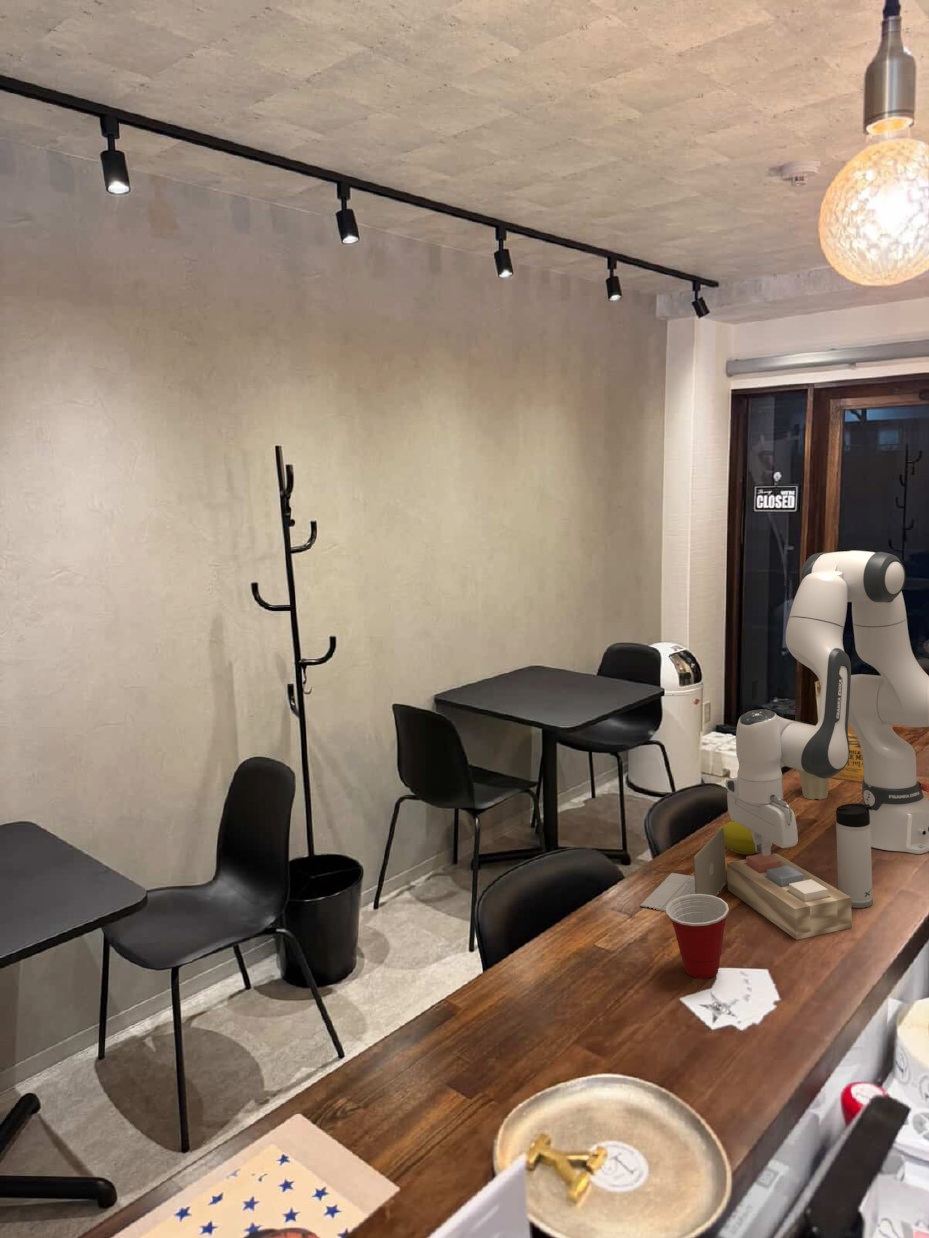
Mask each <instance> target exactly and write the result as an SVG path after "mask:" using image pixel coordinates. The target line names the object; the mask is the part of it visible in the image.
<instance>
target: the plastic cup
mask: <svg viewBox="0 0 929 1238" xmlns="http://www.w3.org/2000/svg"><path fill="white" fill-rule="evenodd" d="M729 910H730V909H729V905H728V903H727V902H726V901H725V900H723V899H722V898H721V897H717V896H716V897H715V896H713V895H705V894H691V895H685V896H681V897H678V898H676V899H674V900H672V901H671V902H670V903H669V904H668V905H667V907H666V915H667V917H669V919H670V922H671V923H672V926H673V928H674V932H675V937H676V941H677V944H678V945H677V946H678V950H679V953H680V955H681V959H682V964H683V968H684V970H685V973H687V975H688V976H691V977H693V978H698V979H710V978H713V977H715V976H716V975H717V974H718V973H719V969H720V963H721V962H720V961H721V955H722V949H723V941H724V931H725V925H726V921H727V915H728V914H729V912H730V911H729Z"/></svg>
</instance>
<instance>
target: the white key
mask: <svg viewBox="0 0 929 1238" xmlns="http://www.w3.org/2000/svg"><path fill="white" fill-rule="evenodd" d="M789 893H790V894H792V895H793V896H795V897H797V898H798V899H800V900H801V901H803V902H804V903H805V902H810V901H815V900H820V899H825V898H828V889H827V888H825V887H823V886H822V885H820V884H818V883H817V882H815V881H814V880H812V879H810V880H805V881H800V882H795V883H790V884H789Z"/></svg>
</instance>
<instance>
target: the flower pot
mask: <svg viewBox="0 0 929 1238" xmlns="http://www.w3.org/2000/svg"><path fill="white" fill-rule="evenodd" d="M797 773H798V775H799V781H800V784H801V786H800V787H801V791H802V795H803V798H805V799H807V800H811V801H812V800H813V801H815V800H820V801H821V800H824V799H827V798H828V797H829V796H828V794H829V786H830V785H829V784H830V779H831V778H827V779H823V778H820V777H817V776H814V775H812V774H809V773H807V772H805V771H801V770H797Z"/></svg>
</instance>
